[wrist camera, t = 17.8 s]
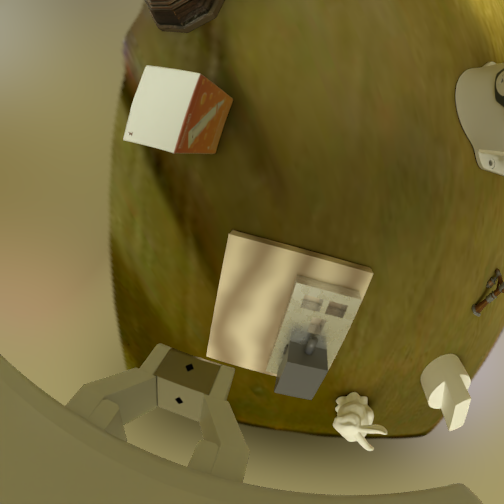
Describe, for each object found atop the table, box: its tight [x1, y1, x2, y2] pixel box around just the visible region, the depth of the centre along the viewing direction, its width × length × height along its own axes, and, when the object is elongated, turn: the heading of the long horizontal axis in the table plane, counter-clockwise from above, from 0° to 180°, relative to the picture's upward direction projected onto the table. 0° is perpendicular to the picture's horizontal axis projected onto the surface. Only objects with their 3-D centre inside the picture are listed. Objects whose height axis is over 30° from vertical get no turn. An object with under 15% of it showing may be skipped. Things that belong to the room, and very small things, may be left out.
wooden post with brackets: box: [472, 269, 504, 316], centre depth 33 cm, size 2×8×5 cm, turn 160°
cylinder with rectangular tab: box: [420, 354, 471, 431], centre depth 35 cm, size 9×9×12 cm
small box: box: [123, 65, 233, 154], centre depth 28 cm, size 8×6×13 cm
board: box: [206, 230, 373, 376], centre depth 41 cm, size 20×22×2 cm
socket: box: [266, 275, 362, 374], centre depth 38 cm, size 9×16×2 cm, turn 167°
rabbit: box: [333, 392, 387, 451], centre depth 40 cm, size 12×9×12 cm
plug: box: [274, 336, 328, 400], centre depth 37 cm, size 6×9×6 cm, turn 167°
